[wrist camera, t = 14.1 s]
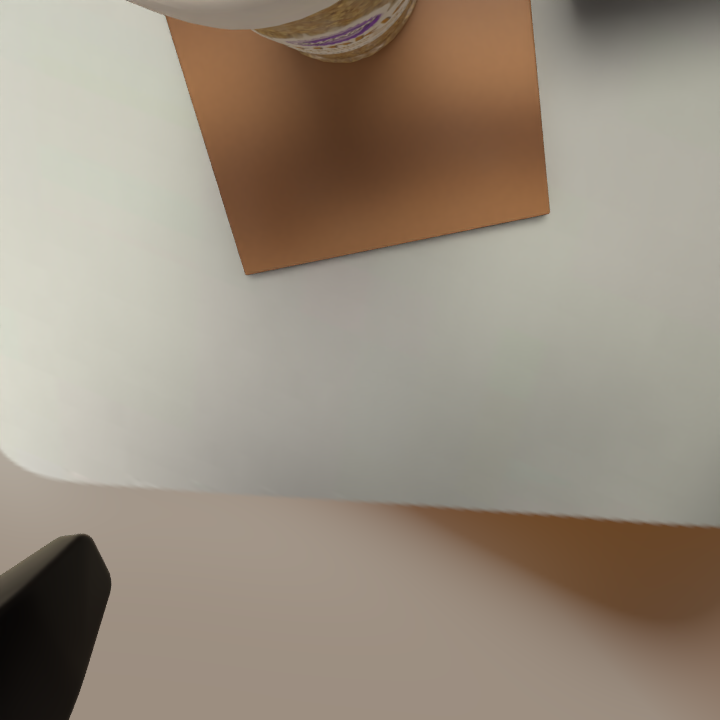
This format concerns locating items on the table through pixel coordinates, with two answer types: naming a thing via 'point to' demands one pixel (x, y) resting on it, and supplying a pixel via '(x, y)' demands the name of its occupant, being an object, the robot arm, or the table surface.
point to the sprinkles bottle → (301, 22)
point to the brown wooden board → (371, 133)
